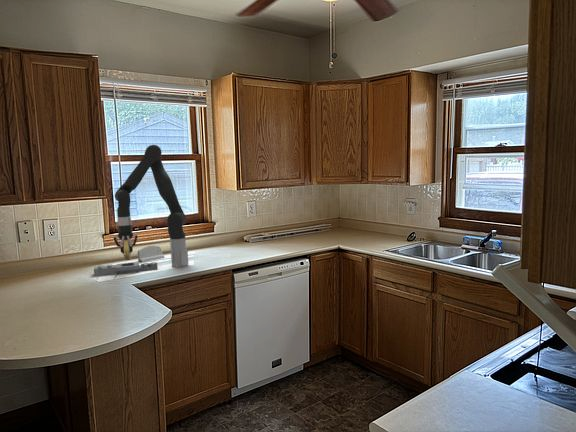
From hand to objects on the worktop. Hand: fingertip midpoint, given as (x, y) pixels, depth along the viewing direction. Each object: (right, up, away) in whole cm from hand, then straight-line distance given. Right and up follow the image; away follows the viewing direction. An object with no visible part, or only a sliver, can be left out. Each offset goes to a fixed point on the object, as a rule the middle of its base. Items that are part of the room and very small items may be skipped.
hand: (126, 252), depth 257 cm
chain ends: (0, -11, +1) cm, 11 cm away
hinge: (+4, -7, +32) cm, 33 cm away
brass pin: (0, -4, +1) cm, 4 cm away
